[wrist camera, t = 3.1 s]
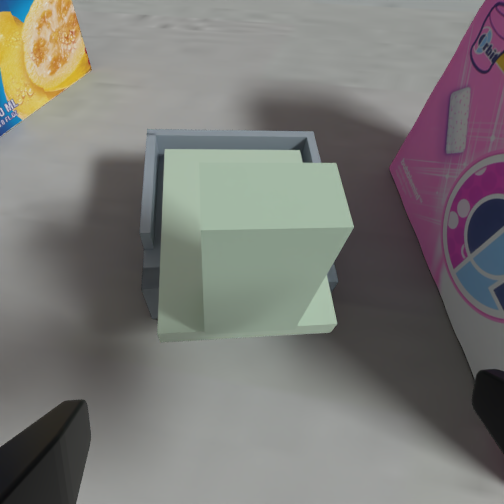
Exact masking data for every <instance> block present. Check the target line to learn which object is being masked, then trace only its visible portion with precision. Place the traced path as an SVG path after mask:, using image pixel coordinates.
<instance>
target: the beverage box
mask: <svg viewBox="0 0 504 504" xmlns="http://www.w3.org/2000/svg"><path fill="white" fill-rule="evenodd" d="M90 71H92V69H91V65H90V62H89V58H88V55H87V51H86V48H85V45H84V41H83V38H82V34H81V31H80V27H79V24H78V20H77V17H76V13H75V10H74V7H73V3H72V0H0V137H1V136H2V135H4V134H5V133H7V132H8V131H9V130H11V129H12V128H13V127H15V126H16V125H18V124H19V123H20V122H22V121H23V120H24V119H26V118H27V117H29V116H30V115H31V114H33V113H34V112H35V111H37V110H38V109H40V108H41V107H42V106H44V105H45V104H46V103H48V102H49V101H50V100H52V99H53V98H55V97H56V96H57V95H59V94H60V93H61V92H63V91H64V90H66V89H67V88H68V87H70V86H71V85H72V84H74V83H75V82H77V81H78V80H79V79H81V78H82V77H83V76H85V75H86V74H88V73H89V72H90Z"/></svg>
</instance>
